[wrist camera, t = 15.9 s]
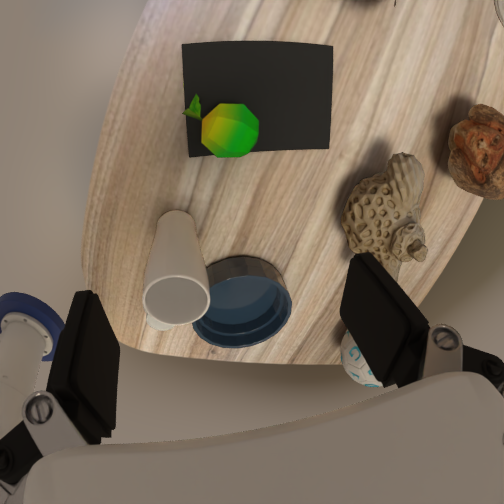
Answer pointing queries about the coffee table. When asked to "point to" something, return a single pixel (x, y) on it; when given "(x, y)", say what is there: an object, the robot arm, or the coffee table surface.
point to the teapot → (388, 214)
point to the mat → (263, 90)
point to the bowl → (243, 303)
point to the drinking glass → (176, 272)
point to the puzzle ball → (356, 362)
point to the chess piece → (500, 9)
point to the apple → (226, 128)
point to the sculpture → (478, 153)
